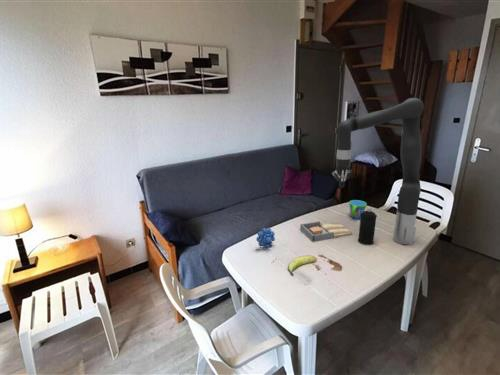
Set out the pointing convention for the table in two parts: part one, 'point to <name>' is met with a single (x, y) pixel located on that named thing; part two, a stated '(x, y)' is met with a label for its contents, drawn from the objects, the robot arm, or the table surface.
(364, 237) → the aerosol can
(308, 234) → the box
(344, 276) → the table surface
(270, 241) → the blue knobby ball
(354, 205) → the snack cup
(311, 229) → the peach rectangular block
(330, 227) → the beige wooden board
